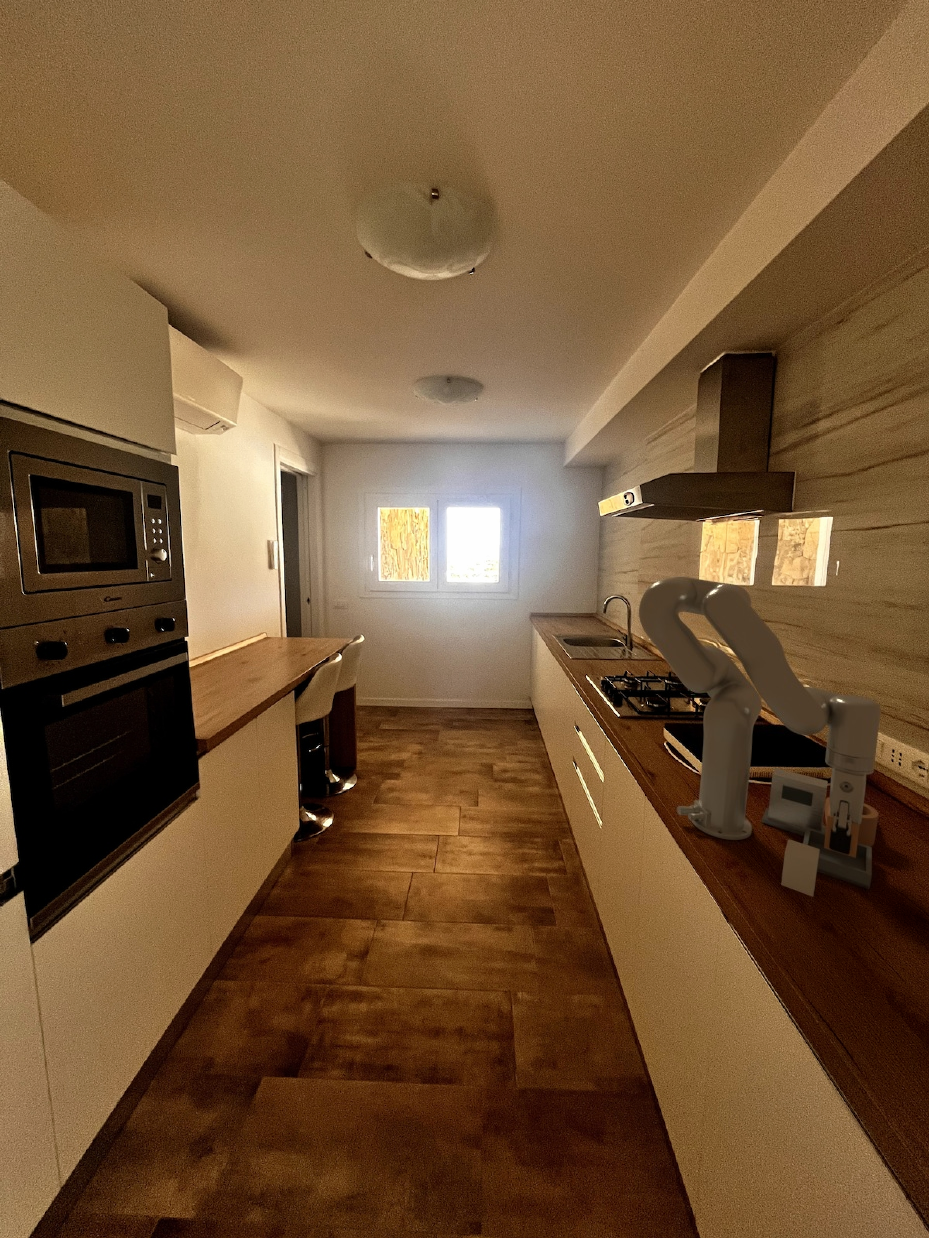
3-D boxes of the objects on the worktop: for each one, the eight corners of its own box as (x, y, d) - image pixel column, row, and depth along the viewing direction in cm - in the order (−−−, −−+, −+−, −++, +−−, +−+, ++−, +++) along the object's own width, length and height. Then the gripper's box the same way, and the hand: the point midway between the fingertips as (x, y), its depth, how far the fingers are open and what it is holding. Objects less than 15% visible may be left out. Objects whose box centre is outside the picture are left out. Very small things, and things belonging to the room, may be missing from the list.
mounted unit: (761, 822, 114) (766, 774, 112) (765, 811, 118) (771, 765, 117) (825, 842, 106) (832, 791, 104) (827, 830, 111) (833, 780, 109)
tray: (799, 865, 99) (800, 851, 99) (805, 839, 107) (806, 827, 107) (869, 889, 92) (871, 875, 92) (869, 860, 101) (871, 847, 100)
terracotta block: (823, 847, 99) (827, 815, 97) (825, 836, 102) (829, 805, 101) (855, 857, 95) (859, 824, 94) (856, 845, 99) (860, 813, 98)
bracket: (876, 852, 103) (881, 822, 102) (827, 839, 108) (831, 810, 107) (865, 813, 118) (869, 786, 117) (823, 803, 123) (826, 777, 122)
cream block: (781, 884, 93) (785, 851, 92) (784, 871, 97) (788, 839, 96) (813, 896, 90) (817, 862, 89) (815, 882, 94) (819, 849, 93)
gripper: (874, 780, 87) (863, 873, 90) (874, 749, 100) (864, 831, 103) (822, 769, 92) (813, 857, 95) (828, 740, 105) (820, 819, 108)
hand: (839, 843), depth 99 cm, fingers closed on terracotta block, 5 cm apart
